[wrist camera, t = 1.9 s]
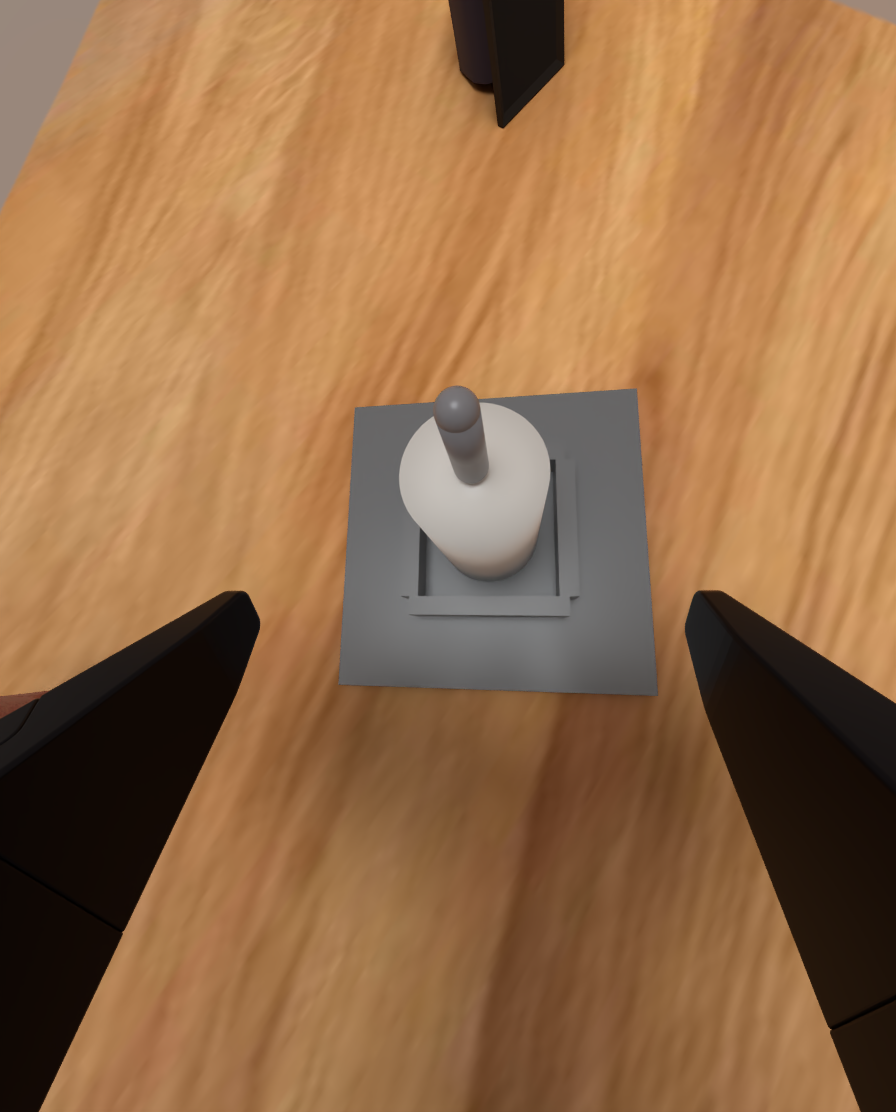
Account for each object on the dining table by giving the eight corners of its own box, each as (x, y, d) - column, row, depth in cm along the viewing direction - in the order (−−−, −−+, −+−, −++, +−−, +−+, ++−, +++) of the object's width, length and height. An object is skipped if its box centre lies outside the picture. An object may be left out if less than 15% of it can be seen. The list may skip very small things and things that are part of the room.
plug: (555, 550, 20) (612, 426, 8) (471, 599, 20) (409, 546, 8) (505, 473, 21) (493, 263, 9) (426, 520, 21) (314, 373, 9)
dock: (654, 694, 18) (670, 701, 16) (342, 683, 21) (324, 688, 19) (633, 394, 21) (645, 369, 19) (358, 412, 23) (343, 391, 21)
